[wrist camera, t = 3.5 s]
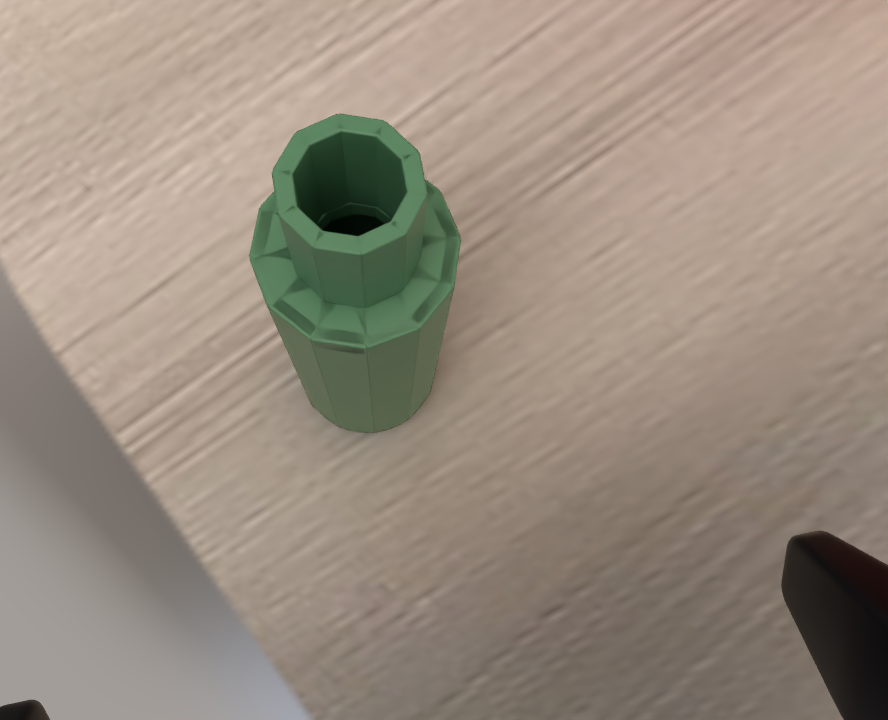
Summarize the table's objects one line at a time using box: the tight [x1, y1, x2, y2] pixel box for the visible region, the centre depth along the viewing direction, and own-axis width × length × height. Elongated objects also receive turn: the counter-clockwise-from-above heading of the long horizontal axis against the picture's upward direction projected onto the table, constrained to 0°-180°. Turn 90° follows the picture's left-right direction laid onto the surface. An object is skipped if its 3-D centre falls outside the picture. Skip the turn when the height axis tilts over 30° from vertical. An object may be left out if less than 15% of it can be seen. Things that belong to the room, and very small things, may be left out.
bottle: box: [249, 114, 461, 433], centre depth 18 cm, size 4×4×12 cm
